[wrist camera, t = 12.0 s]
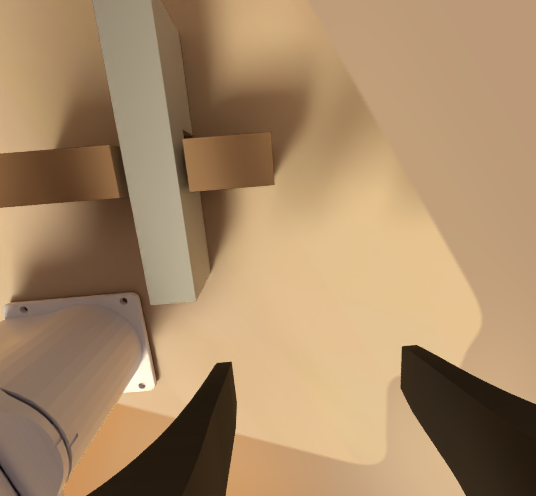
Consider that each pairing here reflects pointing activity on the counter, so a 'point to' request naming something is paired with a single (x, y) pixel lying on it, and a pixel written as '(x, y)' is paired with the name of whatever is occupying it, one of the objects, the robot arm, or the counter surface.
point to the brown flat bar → (113, 174)
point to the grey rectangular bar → (155, 144)
